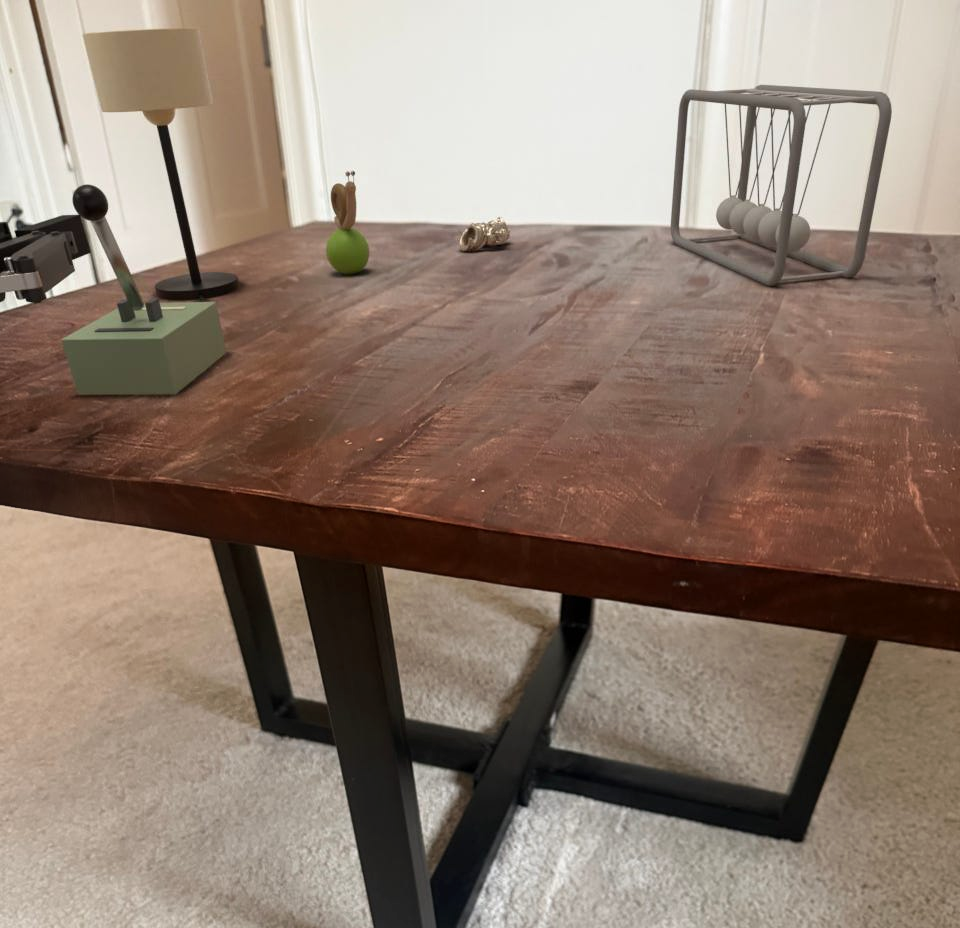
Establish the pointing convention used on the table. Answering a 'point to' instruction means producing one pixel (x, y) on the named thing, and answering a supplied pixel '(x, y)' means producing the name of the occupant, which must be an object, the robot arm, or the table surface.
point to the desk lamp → (159, 117)
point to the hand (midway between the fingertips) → (76, 234)
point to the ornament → (484, 235)
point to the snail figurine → (346, 232)
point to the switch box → (145, 348)
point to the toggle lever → (106, 238)
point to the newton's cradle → (760, 221)
